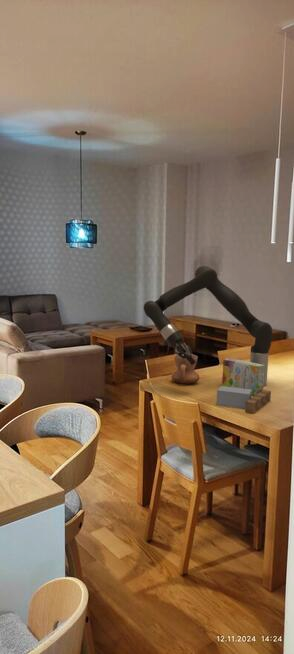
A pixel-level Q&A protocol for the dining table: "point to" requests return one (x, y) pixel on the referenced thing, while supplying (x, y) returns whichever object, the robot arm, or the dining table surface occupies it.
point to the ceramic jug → (185, 371)
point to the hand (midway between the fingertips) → (193, 363)
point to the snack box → (243, 375)
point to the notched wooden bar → (257, 401)
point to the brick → (233, 396)
